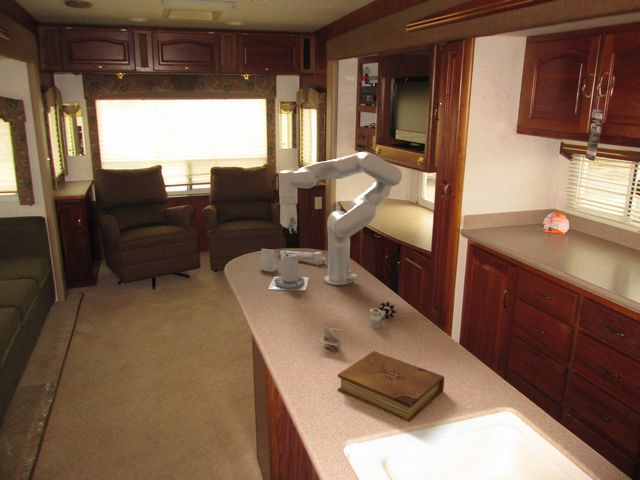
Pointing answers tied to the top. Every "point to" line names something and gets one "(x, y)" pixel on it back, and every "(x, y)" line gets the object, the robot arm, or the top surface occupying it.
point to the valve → (380, 315)
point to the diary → (391, 385)
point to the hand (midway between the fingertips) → (289, 239)
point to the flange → (289, 284)
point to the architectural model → (331, 338)
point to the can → (289, 267)
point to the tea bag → (267, 260)
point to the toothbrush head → (307, 256)
